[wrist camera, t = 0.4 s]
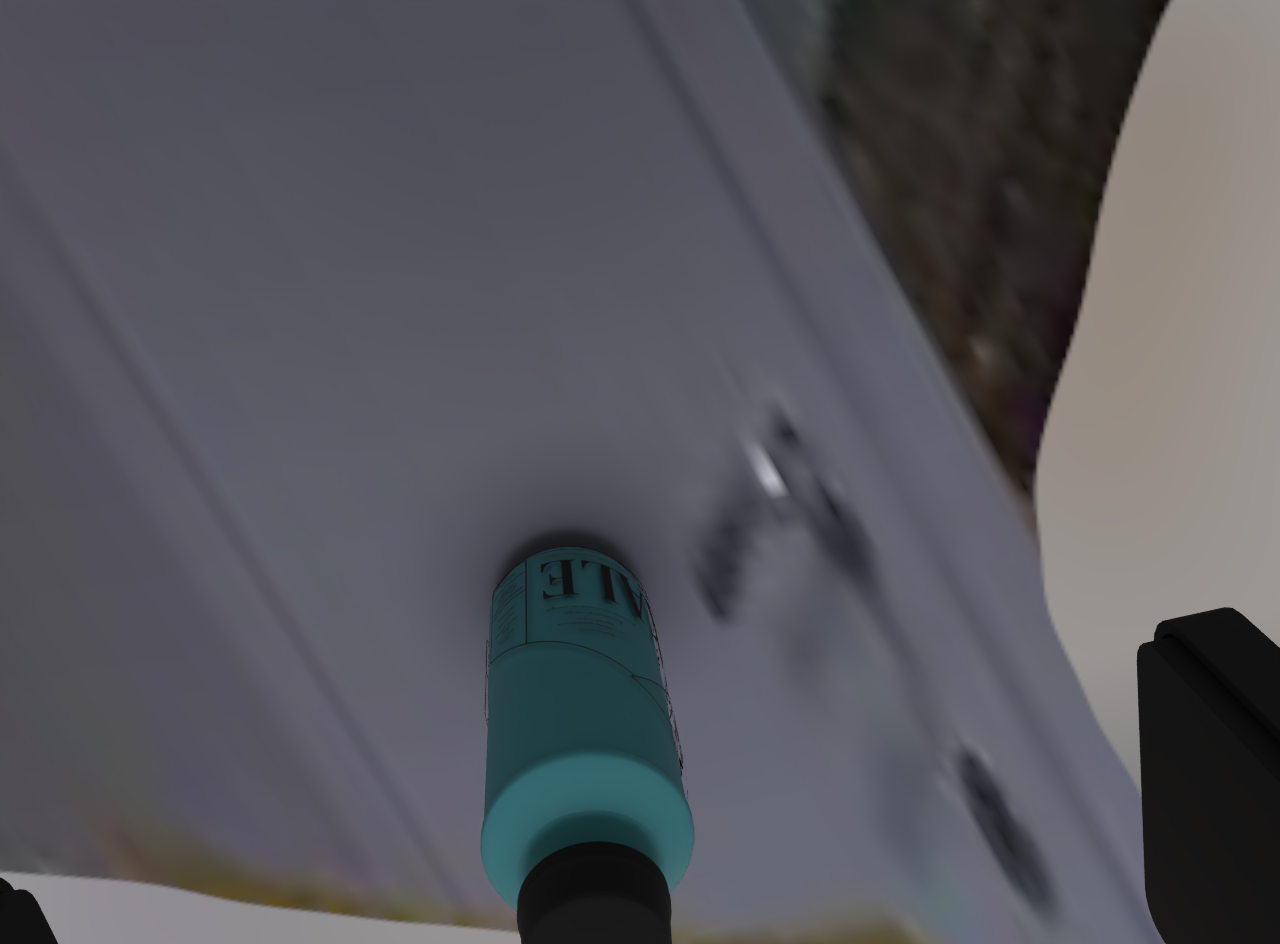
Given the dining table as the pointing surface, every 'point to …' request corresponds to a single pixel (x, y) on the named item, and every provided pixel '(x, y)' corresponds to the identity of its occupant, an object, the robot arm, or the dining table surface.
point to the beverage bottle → (581, 757)
